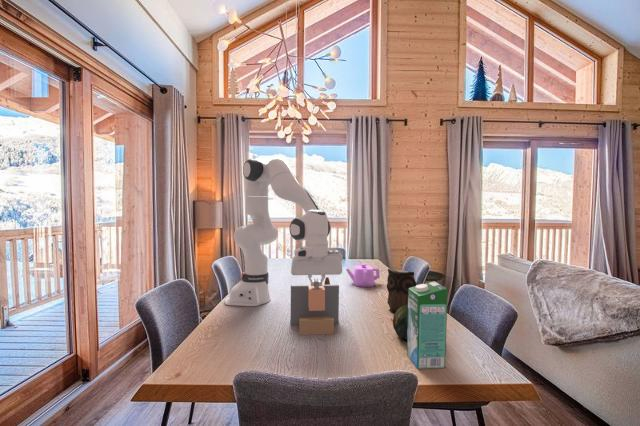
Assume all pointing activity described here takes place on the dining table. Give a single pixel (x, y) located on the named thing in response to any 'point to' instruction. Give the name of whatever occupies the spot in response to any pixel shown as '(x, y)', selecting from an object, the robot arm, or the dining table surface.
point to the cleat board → (314, 319)
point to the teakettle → (364, 275)
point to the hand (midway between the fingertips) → (316, 285)
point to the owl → (399, 288)
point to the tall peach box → (316, 297)
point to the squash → (401, 322)
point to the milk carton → (427, 325)
